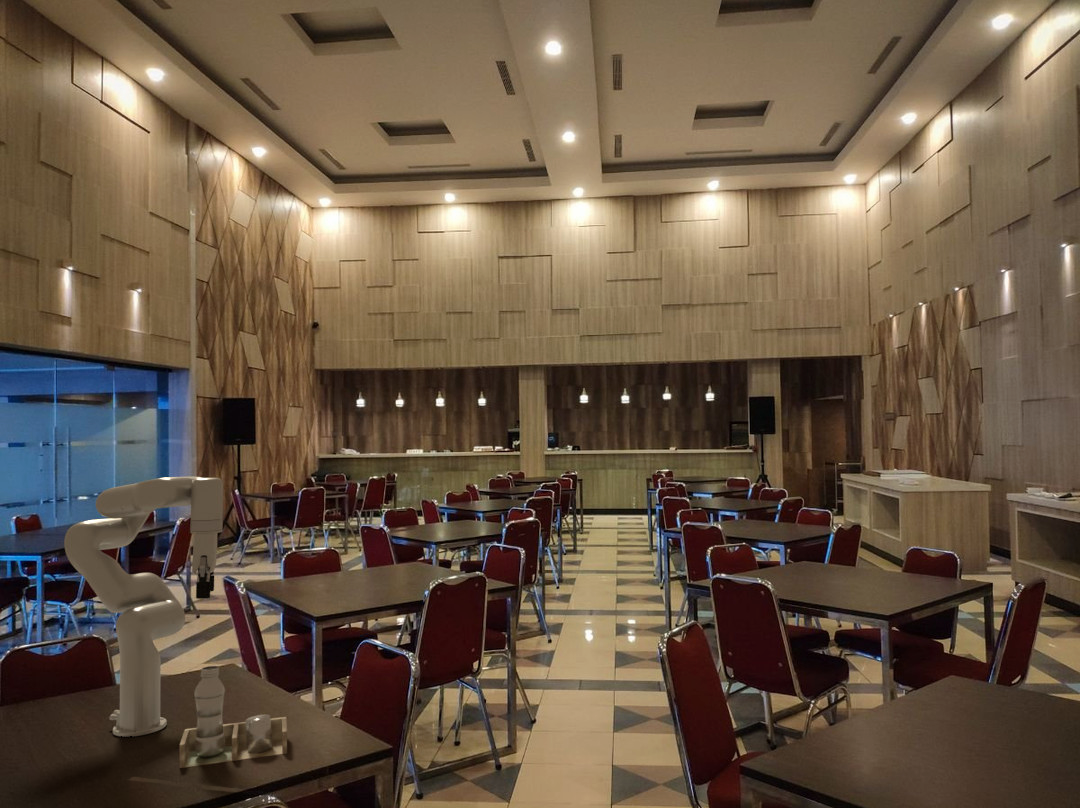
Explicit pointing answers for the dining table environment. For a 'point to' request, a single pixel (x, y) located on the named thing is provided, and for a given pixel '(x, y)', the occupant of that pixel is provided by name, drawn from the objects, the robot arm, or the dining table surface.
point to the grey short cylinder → (258, 733)
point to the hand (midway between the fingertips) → (205, 594)
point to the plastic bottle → (209, 713)
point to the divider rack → (233, 744)
